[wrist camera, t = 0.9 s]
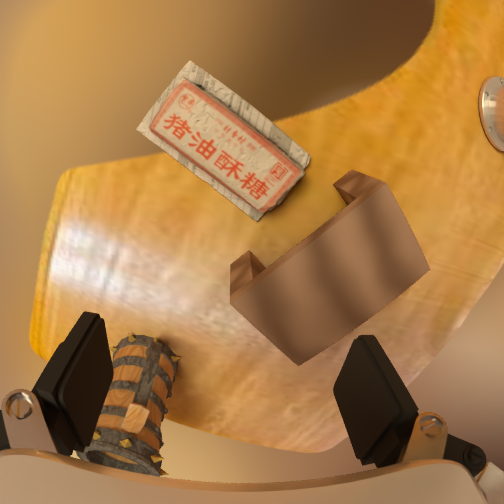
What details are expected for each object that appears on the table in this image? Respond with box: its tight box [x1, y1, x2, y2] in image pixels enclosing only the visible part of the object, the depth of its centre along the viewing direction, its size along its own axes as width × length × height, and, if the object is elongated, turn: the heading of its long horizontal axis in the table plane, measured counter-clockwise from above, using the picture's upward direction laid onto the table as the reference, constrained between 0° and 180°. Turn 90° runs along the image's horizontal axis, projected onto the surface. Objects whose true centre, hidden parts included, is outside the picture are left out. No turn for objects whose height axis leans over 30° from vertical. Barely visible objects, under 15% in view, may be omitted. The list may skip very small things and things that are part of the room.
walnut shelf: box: [230, 170, 430, 366], centre depth 33 cm, size 19×12×9 cm, turn 130°
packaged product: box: [136, 61, 310, 221], centre depth 30 cm, size 18×5×10 cm
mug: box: [76, 334, 182, 477], centre depth 33 cm, size 13×17×20 cm
